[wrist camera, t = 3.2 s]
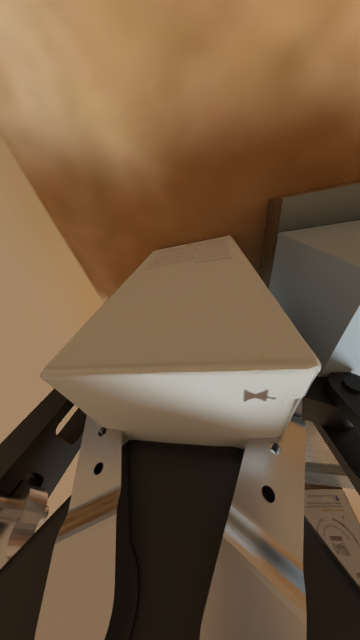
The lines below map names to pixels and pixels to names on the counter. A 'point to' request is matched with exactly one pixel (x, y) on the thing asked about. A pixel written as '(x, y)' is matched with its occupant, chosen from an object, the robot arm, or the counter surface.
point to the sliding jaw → (322, 291)
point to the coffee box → (335, 524)
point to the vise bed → (281, 217)
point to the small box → (188, 353)
